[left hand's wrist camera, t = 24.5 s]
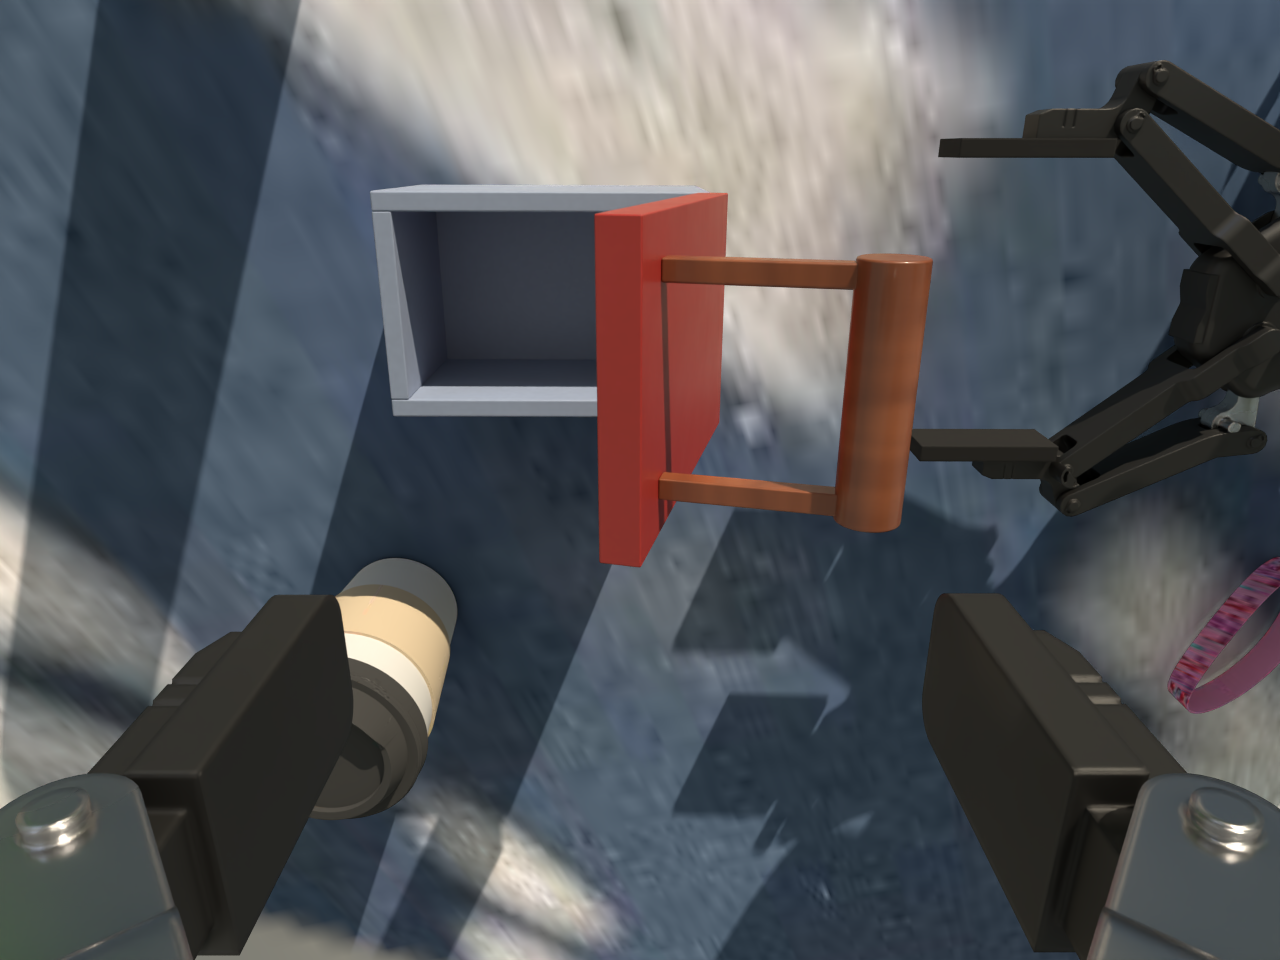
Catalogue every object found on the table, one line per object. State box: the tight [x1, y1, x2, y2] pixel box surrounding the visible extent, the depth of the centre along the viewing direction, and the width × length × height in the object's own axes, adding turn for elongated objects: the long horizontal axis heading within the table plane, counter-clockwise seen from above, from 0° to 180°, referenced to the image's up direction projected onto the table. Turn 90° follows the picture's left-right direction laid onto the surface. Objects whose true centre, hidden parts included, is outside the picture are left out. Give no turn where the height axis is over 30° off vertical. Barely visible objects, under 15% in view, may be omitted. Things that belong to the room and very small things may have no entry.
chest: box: [370, 185, 710, 417], centre depth 41 cm, size 14×10×9 cm
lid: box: [594, 193, 933, 567], centre depth 29 cm, size 15×10×8 cm
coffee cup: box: [309, 558, 457, 820], centre depth 46 cm, size 9×9×15 cm
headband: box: [1168, 557, 1280, 714], centre depth 52 cm, size 11×4×2 cm, turn 155°
